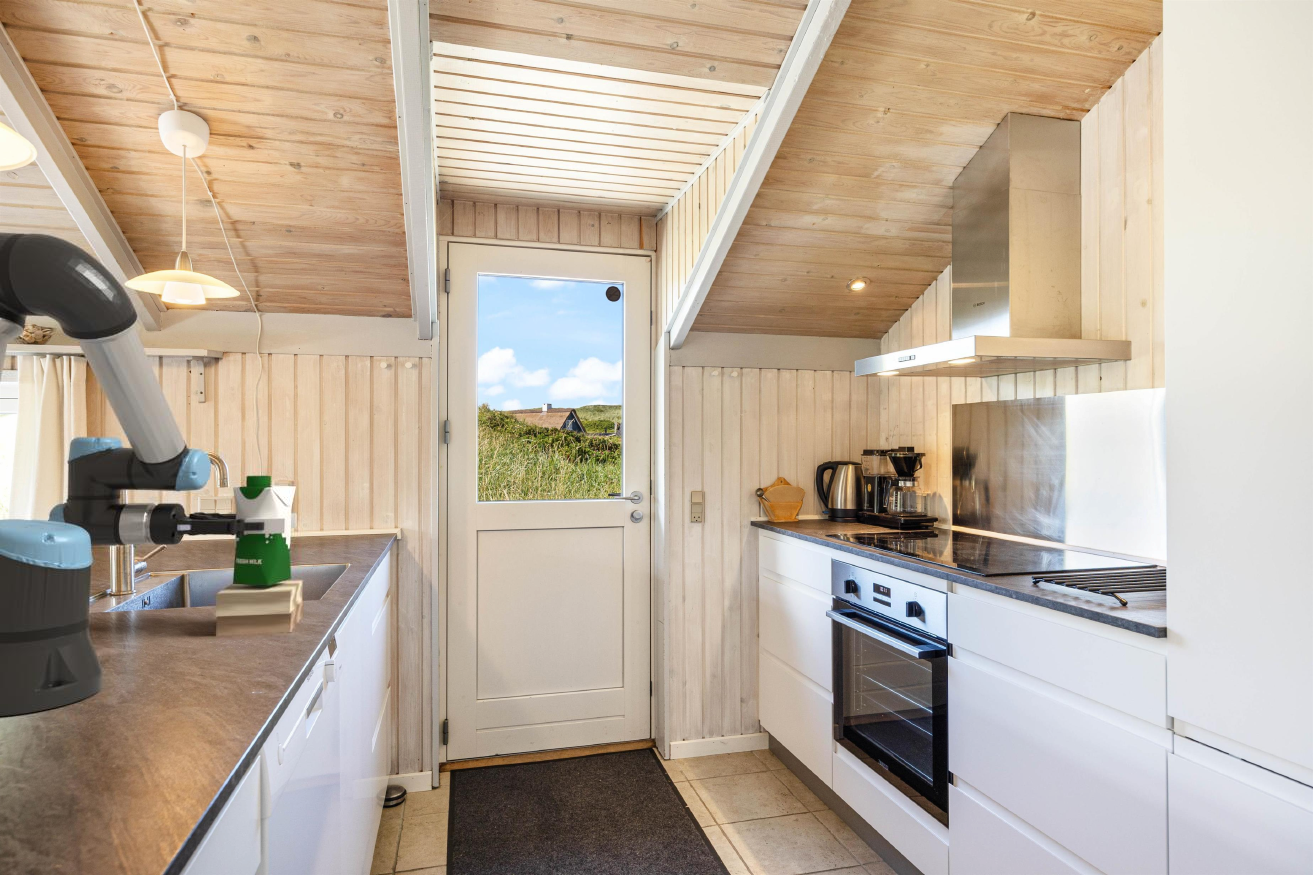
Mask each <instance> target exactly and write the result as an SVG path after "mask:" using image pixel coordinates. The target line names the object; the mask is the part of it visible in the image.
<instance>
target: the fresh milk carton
mask: <svg viewBox="0 0 1313 875" xmlns="http://www.w3.org/2000/svg"><path fill="white" fill-rule="evenodd" d="M245 477H246V480H245V481H246V482H245V484H246V485H244V486H243V485H242V486H234V487H232V489H233V496H234V497H233V498H234V504H235V514H236V519H242V520H244V522H245V519H246V518H286V527H285V533H267V534H245V531H244V537H243V538H237V534H236V535H234V536H235V537H234V538H235V541H234V543H235V544H234V562H233V576H232V578H233V579H232V583H233V584H243V585H272V584H275V583H279V582H282V581H286V580H292V569H291V568H292V567H291V536H292V534H291V533H292V532H291V531H292V528H291V513H292V506H293V502H294V497H295V492H296V489H297V487H296V486H293V485H292V486H291V485H288V486H287V485H286V486H285V485H273V484H272V483H271V482H272V476H271V475H247V476H245ZM271 484H272V485H271Z"/></svg>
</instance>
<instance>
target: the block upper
mask: <svg viewBox="0 0 1313 875" xmlns="http://www.w3.org/2000/svg"><path fill="white" fill-rule="evenodd" d="M303 582H304V579H289V580H286V581H282V582H279V583H275V584H272V585H243V584H233V582H232V583H231V584H230V585H227V586H226V587H225V588H222V590H220V591H218V592H217V593H216V594H215V617H217V616H240V615H265V614H290V613H291V612H292V611H293V610H294V609H295V607H296V606H297V605H298V604H299V603H300V602H301V601H302V600H303V589H304V588H303Z"/></svg>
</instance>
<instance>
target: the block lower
mask: <svg viewBox="0 0 1313 875" xmlns="http://www.w3.org/2000/svg"><path fill="white" fill-rule="evenodd" d="M302 617H303V618H304V599H302V601H301V602H300V603H299V604H298V605H297V606H296V607H295V609H294V610H293V611H292V612H291V613H290V614H265V615H240V616H216V625H215V626H216V629H215V630H216V631H215V637H230V636H250V635H251V636H252V635H253V634H254V635H273V634H275V633H276V634H284V633H283V632H291V633H292V631H293V630H294V629H295V628H296V627H295V626H297V625H298V624H299V623H300V622H299V620H300V619H301V618H302ZM303 618H302V619H303ZM302 619H301V620H302ZM298 622H299V623H298ZM297 623H298V624H297ZM296 624H297V625H296ZM294 627H295V628H294ZM293 628H294V629H293ZM292 629H293V630H292ZM281 632H282V633H281ZM276 634H275V635H276ZM254 635H253V636H254Z"/></svg>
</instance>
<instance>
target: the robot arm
mask: <svg viewBox="0 0 1313 875" xmlns="http://www.w3.org/2000/svg"><path fill="white" fill-rule="evenodd" d="M32 316H33V317H48V318H50V319H52V320H54V321H56V322H57V323H58V324H59V326H60V328H61V330H62V331H63V334H64V335H65V336H66V337H67V338H70V339H72V340H75V341H77V344H78V345H79V347H80V349H81V351H82V353H83V354H84V355H83V356H84V357H85V359H86V361H87V362H88V364H89V366H90V369H91V371H92V373H93V374H94V376H95V378H96V380H97V382H98V384H99V386H100V388H101V391H102V392H103V394H104V396H105V397H106V400H107V401H108V403H109V405H110V408H111V410H112V411H113V413H114V415H115V417H116V419H117V420H118V423H119V425H120V427H121V429H122V430H123V432H124V434H125V436H126V438H127V440H128V442H129V444H130V447H124V446H123V442H122V440H121V438H118V437H99V436H97V437H95V436H92V437H91V436H86V437H85V436H77V437H74V438H73V439H72V440H71V441H70V444H69V451H68V452H69V454H68V459H67V468H68V469H67V499H66V501H65V502H64V503H59V504H56V505H55V506H53V508H52V509H51V510H50V512H49V513H48V514H49V515H48V516H49V518H48V520H45V519H44V520H43V519H42V520H41V519H22V518H21V519H20V518H19V519H18V518H17V519H16V518H14V519H13V518H12V519H10V518H9V519H7V518H6V519H0V717H4V716H13V715H22V714H29V713H35V712H40V711H45V710H46V711H47V710H49V709H54V708H57V707H62V706H65V705H69V704H73V703H75V702H79V701H81V700H84V699H87V698H89V697H91V696H93V695H95V694H97V693H98V692H99V691H101V690H102V688H103V687H104V686H103V685H104V670H103V666H102V664H101V661H100V659H99V657H98V654H97V651H96V648H95V646H94V643H93V641H92V638H91V635H90V631H89V630H90V627H89V626H90V605H91V604H90V602H91V581H92V579H91V578H92V564H93V561H94V560H93V559H94V558H93V555H92V554H93V553H92V547H99V546H100V547H103V546H131V545H132V547H133V548H134V549H139V548H140V546H143V545H147V546H149V545H152V544H155V545H156V546H165V545H166V546H167V545H168V546H169V545H171V546H173V545H178V544H180V543H181V541H182V540H183V538H184V536H185V535H188V536H200V535H201V536H202V535H204V536H207V535H212V536H213V535H214V536H215V535H218V536H220V535H221V536H222V535H223V536H224V535H225V536H229V535H230V536H235V535H236V534H237V538H243V537H244V531H245V534H267V533H285V527H286V518H246V519H245V522H244V520H242V519H236V513H219V512H206V513H205V512H203V511H201V512H200V511H199V512H198V511H197V512H193V513H189V516H188V515H187V514H186V511H185V507H184V506H183V505H182V504H181V503H179V502H178V503H177V502H175V503H171V502H170V503H161V502H160V503H158V504H156V503H154V502H128V503H120V502H121V501H120V499H121V491H164V492H167V491H169V492H170V491H171V492H186V491H189V492H190V491H197V490H201V489H203V488H204V487H205V486H207V483H208V481H209V480H210V476H211V472H212V464H211V459H210V457H209V455H208V453H207V452H205V451H204V450H202V449H195V448H188V445H187V443H186V441H185V439H184V437H183V435H182V433H181V431H180V428H179V426H178V424H177V421H176V418H175V417H174V415H173V412H172V410H171V407H170V406H169V403H168V401H167V399H166V397H165V394H164V392H163V389H162V387H161V385H160V382H159V380H158V377H157V375H156V374H155V371H154V369H153V366H152V365H151V362H150V360H149V358H148V355H147V353H146V350H145V348H144V346H143V343H142V341H141V339H140V337H139V335H138V332H137V330H136V328H135V327H136V325H137V323H138V320H139V316H138V313H137V311H136V308H135V307H134V304H133V302H132V300H131V298H130V296H129V295H128V293H127V292H126V290H125V288H124V287H123V286H122V285H121V283H120V282H119V281H118V280H117V278H116V277H115V276H114V275H113V274H112V273H111V271H109V270H108V269H107V268H106V266H105V265H103V264H102V263H101V262H100V261H99V260H98V259H96V258H95V257H94V256H92V255H91V254H90V253H89V252H87V251H86V250H84V249H83V248H81V247H80V246H78V245H76V244H74V243H71V241H68V240H66V239H63V238H61V237H56V236H53V235H50V234H43V233H19V232H18V233H15V232H14V233H13V232H0V382H1V380H2V375H3V368H4V364H5V359H6V353H7V347H8V343H9V342H10V341H11V340H13V339H16V338H18V337H20V336H22V335H24V331H25V326H26V320H27V317H32ZM297 518H298V514H297V513H296V512H294V513H292V512H291V529H292V528H297V520H298V519H297Z"/></svg>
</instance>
